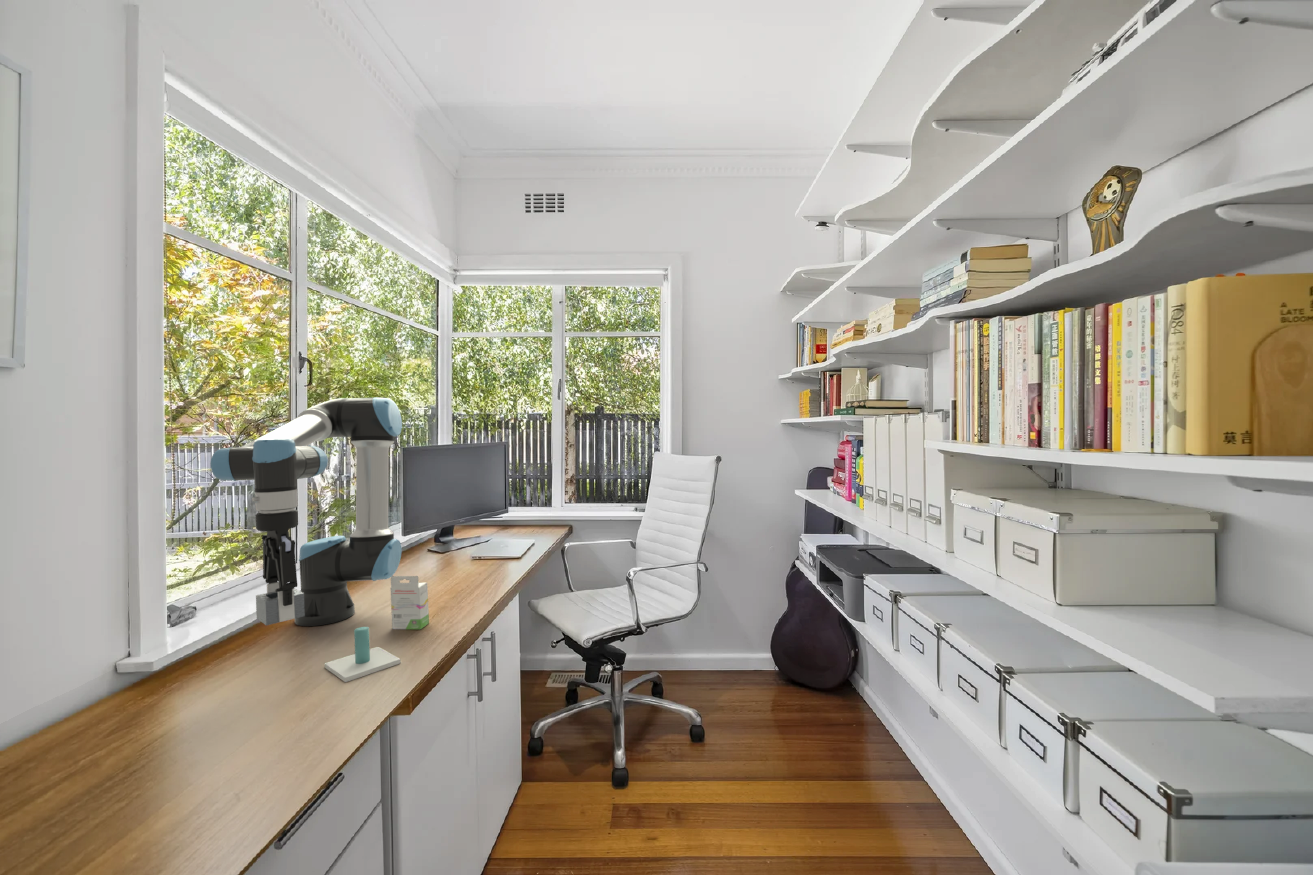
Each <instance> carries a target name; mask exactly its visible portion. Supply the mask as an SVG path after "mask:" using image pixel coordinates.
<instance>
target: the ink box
mask: <svg viewBox="0 0 1313 875" xmlns="http://www.w3.org/2000/svg"><path fill="white" fill-rule="evenodd" d="M405 580H406V581H409V582H401V581H405ZM428 591H429V590H428V582H419V576H418V575H393V576H391V577H390V605H391V606H390V607H391V610H390V611H391V613H390V614H391V629H392V630H422V629H423V628H424V627H426V626H427V625H429V624H430V617H429V616H430V614H429V610H430V609H429V592H428Z"/></svg>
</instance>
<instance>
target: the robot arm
mask: <svg viewBox="0 0 1313 875" xmlns="http://www.w3.org/2000/svg"><path fill="white" fill-rule="evenodd" d="M402 420H403V419H402V416H401V412H400V409H399V407H398V405H397V404H396V402H395V401H394V400H392V399H391V398H387V397H375V396H374V397H355V398H354V397H352V398H351V397H349V398H348V397H342V398H341V397H339V398H335V399H332V400H331V399H330V400H326V401H324V402H321V403H318V404H316V405H313V406H311V407H309V408H307V409H305V410H303V411H301V412H300V413H299V414H298V415H297V417H296V418H295V419H293V420H291V421H289V422H288V423H286V424H284V425H281V426H280V427H277V428H276V429H274V430H272V431H269V432H268V433H265V434H264V435H262V436H260V437H258V438H255V439H254V440H251V441H249V442H247V443H246V444H244V445H242V446H239V447H231V446H230V447H226V448H225V447H224V448H220V449H217V450H216V451H215V452H214V453H213V454H212V455H211V458H210V461H209V462H210V468H211V472H212V475H213V476H214V477H215V478H216V479H218V480H220V481H232V482H237V481H254V482H253V483H254V496H253V497H252V498H251V501H252V502H254V504H255V510H256V512H257V513H256V514H255V529H256V531H258V532H266V534H263V535H262V536H261V540H262V578H263V580H265V581H264V582H265V583H266V593H270V592H275V591H276V592H278V612H279V623H282V621H283V622H287V621H290V620H294V624H295V625H297V626H300V627H317V626H324V625H325V626H326V625H329V624H335V623H338V622H342V621H344V620H346V619H348V618H350V617H353V615H355V613H356V612H355V608H356V607H355V602H354V601H353V598H352V596H351V593H350V591H349V590H348V582H360V581H372V582H376V581H381V580H388V579H391V576H395V575H394V574H396V572H397V570H398V568H399V565H400V562H401V557H402V553H403V552H402V549H403V548H402V543H401V541H400V540H399V539H397V538H395V537H394V536H395V533H394V531H393V530H391V528H389V462H390V461H389V460H390V459H389V458H390V457H389V456H390V455H389V452H390V451H389V450H390V449H389V448H390V447H391V446H392V445H393V444H394V443H395V438H396V437H398V436H400V435H401V433H402V429H403V422H402ZM328 438H329V439H330V438H350V444H352V445H353V446H354V447H355V448H356V455H355V456H356V459H355V460H356V461H355V463H356V466H355V467H356V469H355V472H356V473H355V475H356V477H355V478H356V479H355V488H356V489H355V529H354V531H353V532H352V533H351V534H349V540H347V537H346V536H345V535H334V536H329V537H324V538H323V537H322V538H319V539H315V540H311V541H308V542H306V543H304V544H302V545H301V546H300V547H299V557H298V558H299V559H298V562H299V579H300V591H301V592H302V593H304V609H305V616H303V617H299V618H295V611H294V588H297V587H298V575H297V564H296V541H295V539H292V537H291V536H290V534H289V530H290V529H294V528H296V527H298V526H299V511H298V510H297V509H296V508H297V507H298V506H299V503H298V500H299V498H298V483H297V480H300V479H307V478H308V479H311V478H313V477H317V476H319V475H321V474H323V472H324V471H325V470H326V469H327V467H328V463H329V460H328V456H327V453H325V452H326V451H324V450H323V449H322V448H320V447H319V446H315V445H312V443H314V442H321V441H324V440H326V439H328ZM286 620H287V621H286Z"/></svg>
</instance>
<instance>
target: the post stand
mask: <svg viewBox="0 0 1313 875" xmlns="http://www.w3.org/2000/svg"><path fill="white" fill-rule="evenodd" d="M353 634H354V653H353V654H350V655H346V656H344V657H343V656H342V657H340V658H337V659H333V660H331V661H328V662H325V663H324V668H325V669H326V670H327V671H329V672H330V673H331V674H333V675H335V676H336V677H338V678H339V679H340V680H341V681H343V682H344V683H347V682H350V681H353V680H356V679H359V678H361V677H364V676H368V675H371V674H373V673H376V672H377V673H378V672H380V671H383V670H385V669H388V668H391V667H395V666H398V665H400V664H401V658H400V657H398V656H396V655H395V654H392V653H390V652H389V651H387V650H385V649H383V648H381V647H379V646H376V647H373V648H370V647H371V646H370V627H369V626H361V627H357V628H355V629H354V630H353Z"/></svg>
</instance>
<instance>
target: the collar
mask: <svg viewBox="0 0 1313 875" xmlns="http://www.w3.org/2000/svg"><path fill="white" fill-rule="evenodd" d="M255 609H256V610H255V611H256V619H257V620H258V621H259V622H261V623H262V624H264V625H265V626H270V625H274V624H278V623H280V622H279V612H278V592H276V591H275V592H270V593H267V592H266V593H261V594H257V595H255ZM294 611H295V618H299V617H303V616H305V609H304V593H302V592H301V590H299V589H296V587H294ZM287 621H288V620H286V621H285V622H287ZM282 622H284V621H282ZM282 622H281V623H282Z"/></svg>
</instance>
